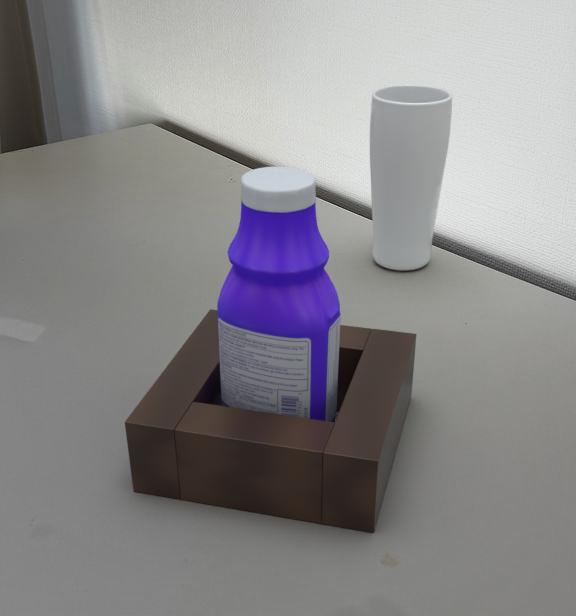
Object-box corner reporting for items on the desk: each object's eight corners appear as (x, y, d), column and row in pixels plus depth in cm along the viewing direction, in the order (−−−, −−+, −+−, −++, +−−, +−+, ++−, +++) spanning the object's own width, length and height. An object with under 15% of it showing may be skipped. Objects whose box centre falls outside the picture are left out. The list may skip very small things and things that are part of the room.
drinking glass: (450, 256, 81) (467, 90, 73) (417, 282, 76) (430, 108, 68) (386, 241, 84) (395, 80, 76) (350, 265, 79) (355, 96, 71)
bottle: (348, 429, 57) (358, 169, 48) (313, 478, 53) (317, 202, 43) (249, 404, 60) (240, 153, 50) (208, 449, 55) (191, 182, 46)
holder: (133, 491, 52) (124, 422, 49) (213, 370, 64) (209, 308, 61) (373, 533, 48) (378, 461, 46) (411, 396, 60) (416, 333, 58)
